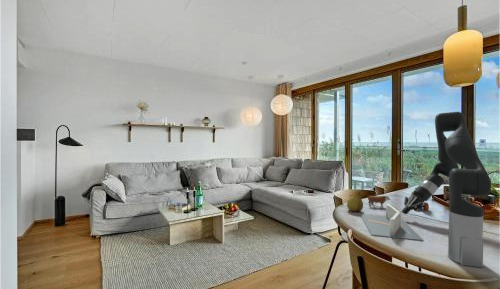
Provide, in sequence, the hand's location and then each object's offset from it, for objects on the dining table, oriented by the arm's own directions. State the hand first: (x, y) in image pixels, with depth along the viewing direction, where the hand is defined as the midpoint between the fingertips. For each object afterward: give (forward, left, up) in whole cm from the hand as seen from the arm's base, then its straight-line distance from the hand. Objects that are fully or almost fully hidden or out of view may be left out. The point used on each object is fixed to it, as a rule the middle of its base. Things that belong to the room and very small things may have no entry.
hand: (403, 212), depth 131 cm
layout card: (-13, +11, -4) cm, 17 cm away
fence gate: (-5, +7, -3) cm, 9 cm away
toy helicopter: (+31, -17, -4) cm, 36 cm away
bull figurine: (+24, +7, -4) cm, 26 cm away
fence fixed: (-20, +9, -4) cm, 22 cm away
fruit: (+10, +23, -4) cm, 26 cm away
